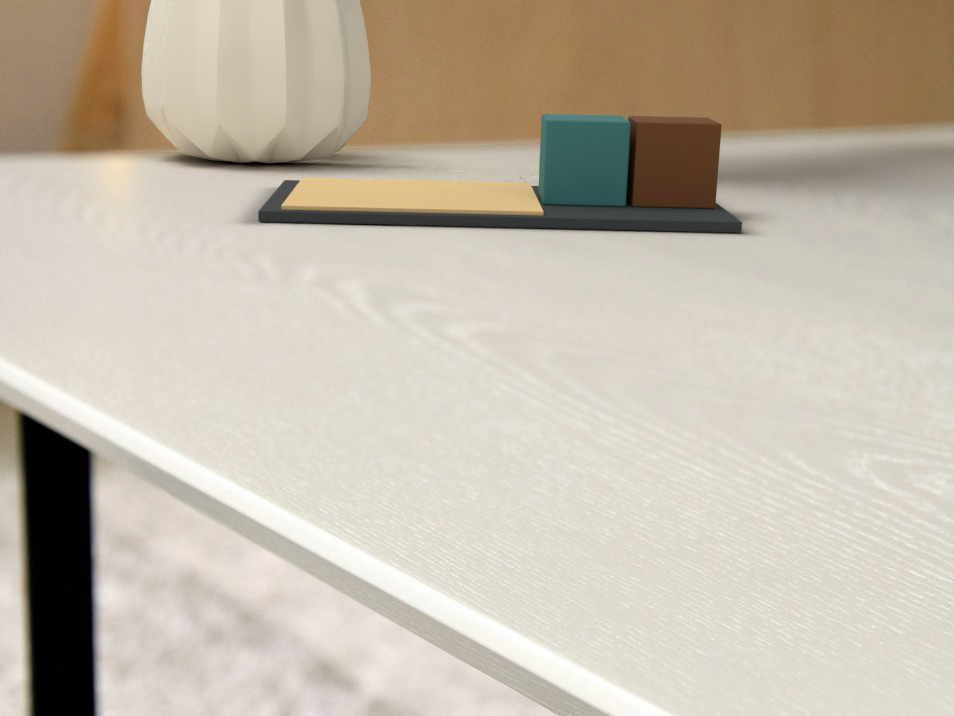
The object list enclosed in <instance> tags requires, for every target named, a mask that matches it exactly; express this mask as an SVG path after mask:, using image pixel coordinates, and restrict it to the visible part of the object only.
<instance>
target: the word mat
mask: <svg viewBox="0 0 954 716" xmlns="http://www.w3.org/2000/svg"><path fill="white" fill-rule="evenodd" d="M540 120H541V121H540V139H539V140H540V142H539V164H538V165H539V166H538V184H537V185H532V184H531V183H530V182H519V181H517V182H511V181H472V180H471V181H470V180H428V179H427V180H425V179H390V178H389V179H384V178H382V179H379V178H347V177H346V178H344V177H343V178H338V177H301V178H300V179H298V180H297V179H284V180H283V181H282V183H280V185H279V186H278V187H277V189H275V191H274V192H273V193H272V194H271V195H270V196H269V198H268V199H267V200H266V201H265V202H264V204H263V205H262V206H261V207H260V209H259V210H258V212H257V213H258V214H257V217H258V218H257V220H258V222H262V223H269V222H270V223H299V224H300V223H301V224H304V223H305V224H306V223H308V224H347V225H350V224H352V225H387V226H388V225H389V226H391V225H392V226H396V225H399V226H432V227H433V226H434V227H435V226H436V227H475V228H477V227H478V228H515V229H517V228H518V229H519V228H522V229H524V228H525V229H561V230H562V229H565V230H566V229H567V230H602V231H603V230H604V231H605V230H607V231H609V230H611V231H646V232H647V231H648V232H649V231H651V232H654V231H655V232H688V233H689V232H693V233H735V234H737V233H738V234H740V233H742V229H743V222H742V221H741V220H740V219H739V218H737V217H736V216H734V215H733V214H732V213H731V212H729V210H727V209H725V208H724V207H723V206H721V205H720V204H718V202H717V191H718V179H719V166H720V165H719V164H720V152H721V141H722V140H721V139H722V128H723V125H722V123H720V122H718V121H715V120H714V119H711V118H709V117H703V116H702V117H701V116H700V117H699V116H698V117H696V116H695V117H694V116H693V117H692V116H690V117H689V116H658V115H657V116H656V115H655V116H654V115H651V116H650V115H628V118H625V117H623V116H622V115H610V114H609V115H607V114H568V113H567V114H564V113H559V114H558V113H542V114H541V118H540Z"/></svg>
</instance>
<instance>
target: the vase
mask: <svg viewBox="0 0 954 716" xmlns="http://www.w3.org/2000/svg"><path fill="white" fill-rule="evenodd" d="M361 4H362V3H361V1H360V0H150V3H149V9H148V12H147V13H148V14H147V20H146V25H145V30H144V31H145V33H144V38H143V39H144V40H143V46H142V58H141V70H140V71H141V94H142V95H141V96H142V101H143V105H144V109H145V114H146V116H147V117H148V118H149V120H150V121H151V122H152V123H153V125H154V126H155V127H156V128H157V129H158V130H159V132H161V134H162V135H163V136H164V137H165V138H166V139H167V140H168V141H169V143H171V144H172V145H173V147H174V148H176V150H177V151H178V152H180V153H181V154H184V155H186V156H191V157H195V158H199V159H204V160H209V161H214V162H232V163H239V164H247V163H264V164H276V163H277V164H278V163H299V162H306V161H312V160H318V159H324V158H328V157H332V156H333V155H334V154H336V153H338V152H340V150H342V149H343V148H344V147H345V146H346V145H347V144H348V142H349V141H351V139H353V137H354V136H355V134H356V133H357V132H358V131H359V129H360V128H361V127H362V126H363V125H364V124H365V122H366V121H367V120H368V114H369V111H370V110H369V109H370V104H371V97H372V94H371V93H372V72H371V71H372V70H371V59H370V49H369V41H368V35H367V29H366V23H365V18H364V13H363V9H362V5H361Z"/></svg>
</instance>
